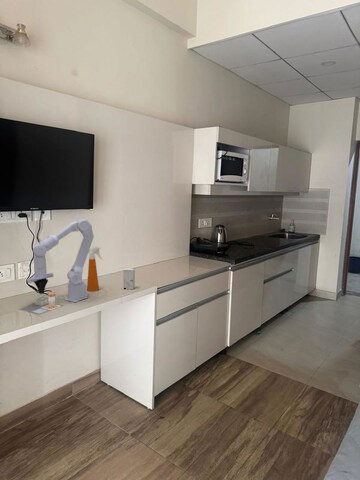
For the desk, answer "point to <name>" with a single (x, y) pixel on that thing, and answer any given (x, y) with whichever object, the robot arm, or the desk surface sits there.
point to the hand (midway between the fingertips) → (41, 293)
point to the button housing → (41, 302)
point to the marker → (51, 299)
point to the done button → (41, 299)
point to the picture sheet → (39, 308)
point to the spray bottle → (93, 270)
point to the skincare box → (129, 278)
